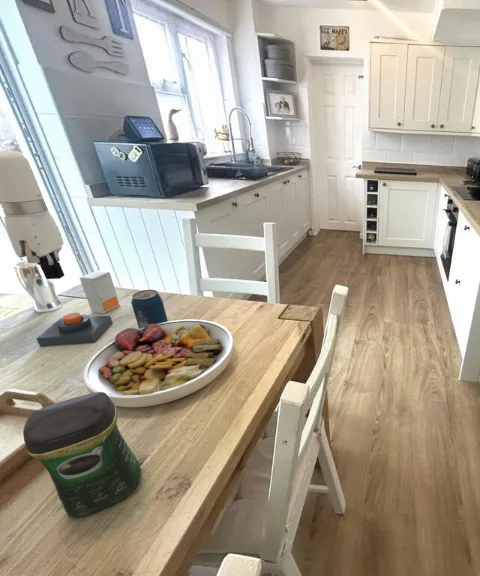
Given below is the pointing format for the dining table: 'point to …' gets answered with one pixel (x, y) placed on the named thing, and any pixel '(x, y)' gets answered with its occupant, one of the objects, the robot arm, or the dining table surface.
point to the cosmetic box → (100, 291)
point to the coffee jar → (83, 453)
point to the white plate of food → (159, 362)
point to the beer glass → (37, 286)
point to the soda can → (148, 308)
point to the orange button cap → (72, 318)
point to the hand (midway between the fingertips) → (55, 277)
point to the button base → (75, 331)
